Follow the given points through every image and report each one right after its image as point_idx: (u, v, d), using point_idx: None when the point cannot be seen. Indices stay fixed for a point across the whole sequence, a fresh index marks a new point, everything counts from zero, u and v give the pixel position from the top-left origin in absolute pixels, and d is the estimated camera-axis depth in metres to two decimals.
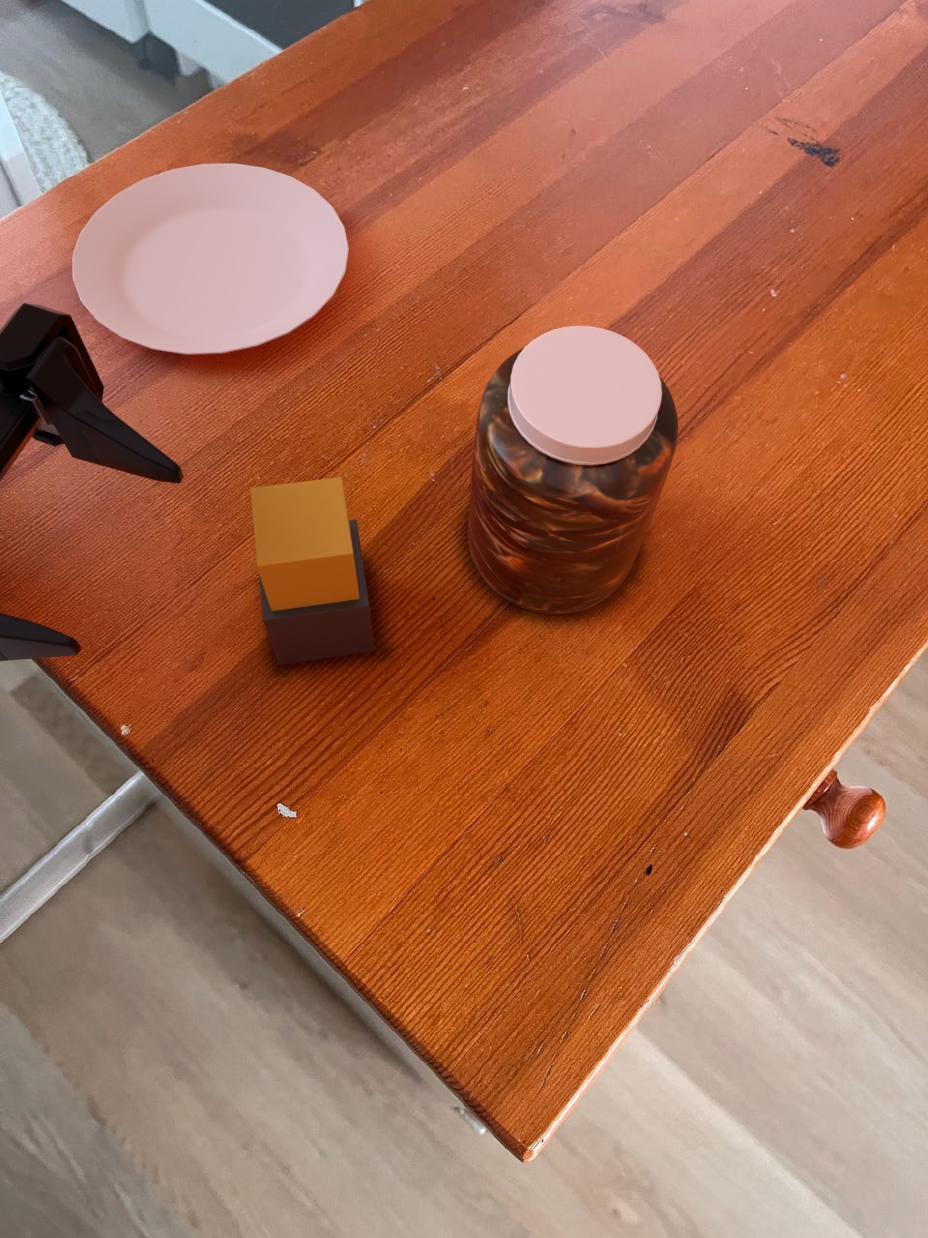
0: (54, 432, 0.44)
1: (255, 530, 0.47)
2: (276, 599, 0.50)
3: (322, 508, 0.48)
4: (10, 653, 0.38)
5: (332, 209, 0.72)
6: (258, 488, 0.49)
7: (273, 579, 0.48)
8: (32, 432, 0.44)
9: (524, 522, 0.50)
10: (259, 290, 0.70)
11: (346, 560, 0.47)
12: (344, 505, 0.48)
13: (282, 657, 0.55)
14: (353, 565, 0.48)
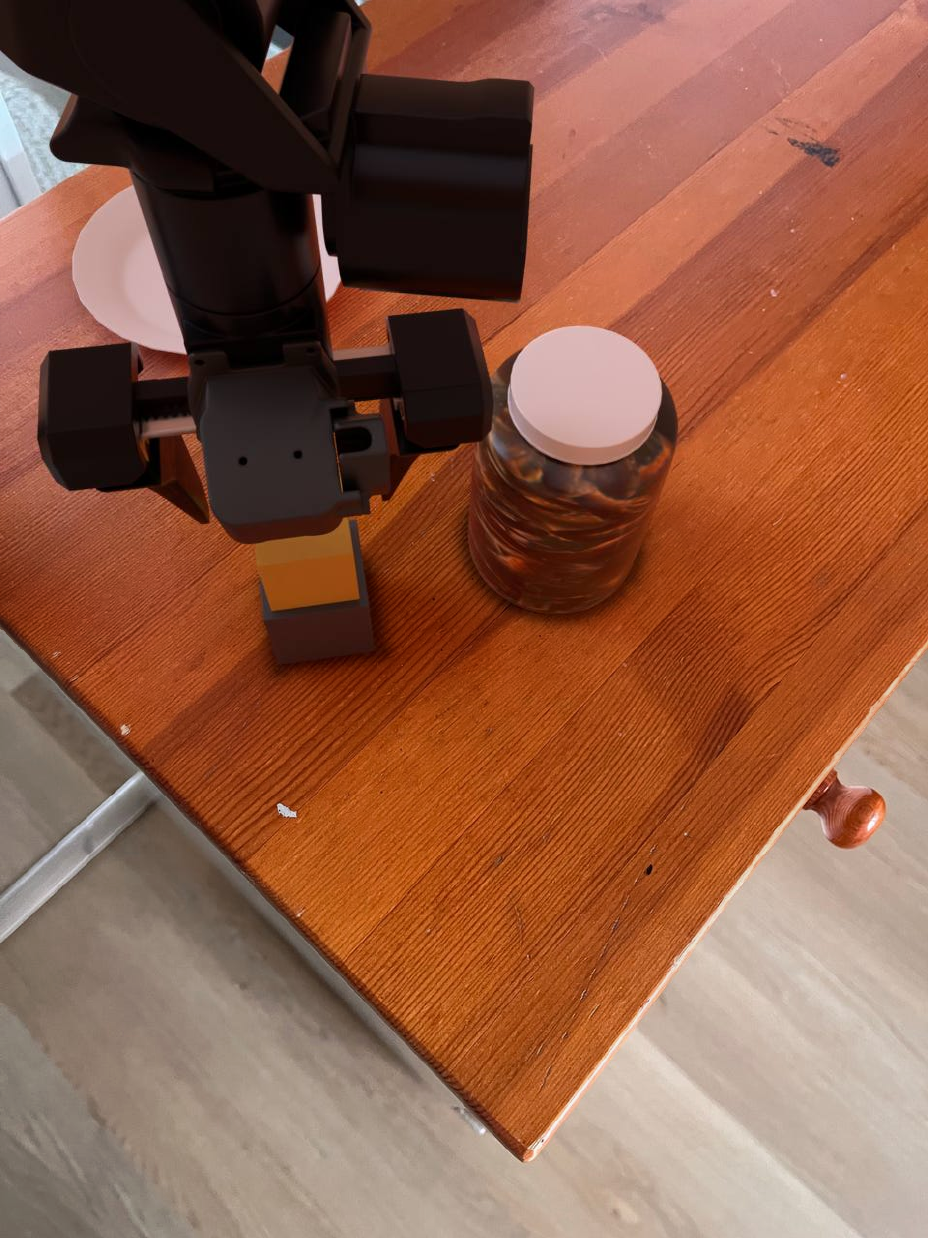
0: None
1: None
2: (276, 599, 0.50)
3: None
4: None
5: None
6: None
7: (273, 579, 0.48)
8: None
9: (524, 522, 0.50)
10: None
11: (346, 560, 0.47)
12: None
13: (282, 657, 0.55)
14: (353, 565, 0.48)
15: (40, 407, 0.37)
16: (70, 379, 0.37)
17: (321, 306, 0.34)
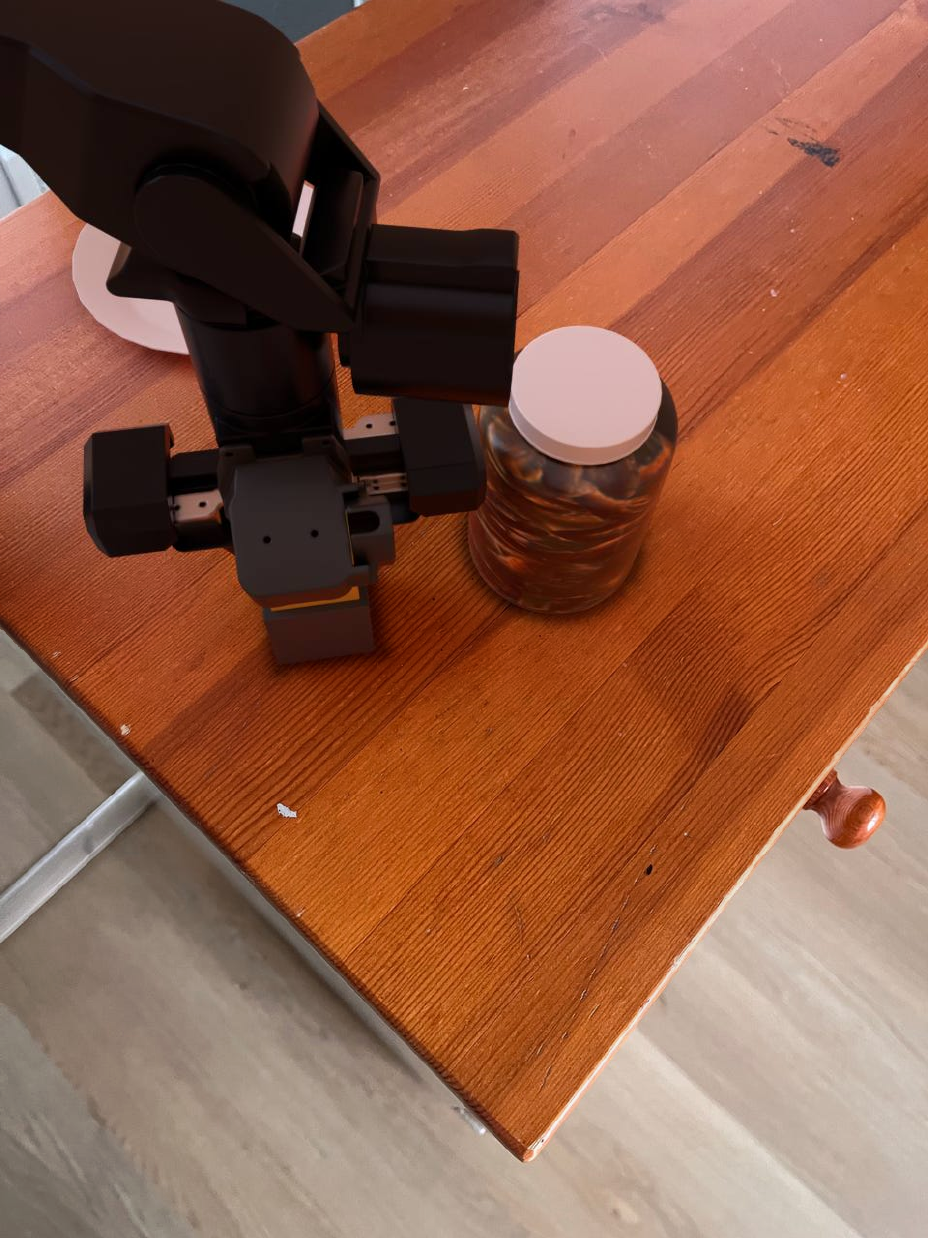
0: None
1: None
2: None
3: None
4: None
5: None
6: None
7: None
8: None
9: (524, 522, 0.50)
10: None
11: None
12: None
13: (282, 657, 0.55)
14: None
15: (85, 485, 0.41)
16: (111, 459, 0.42)
17: (335, 402, 0.39)
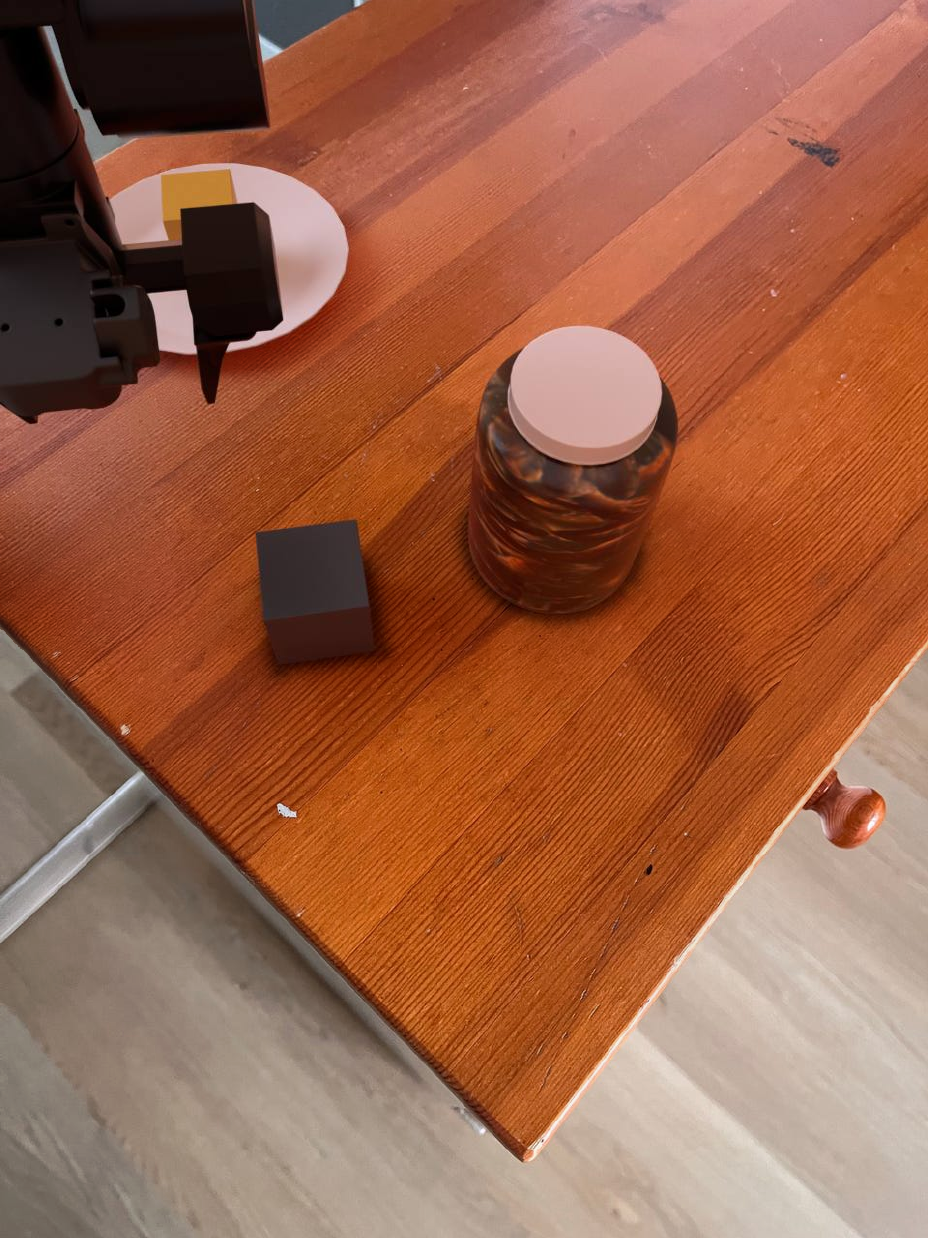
0: None
1: (163, 199, 0.64)
2: None
3: (214, 187, 0.65)
4: None
5: (332, 209, 0.72)
6: (167, 175, 0.66)
7: (177, 238, 0.65)
8: None
9: (524, 522, 0.50)
10: None
11: None
12: (230, 185, 0.65)
13: (282, 657, 0.55)
14: None
15: None
16: None
17: (86, 183, 0.36)
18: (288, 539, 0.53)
